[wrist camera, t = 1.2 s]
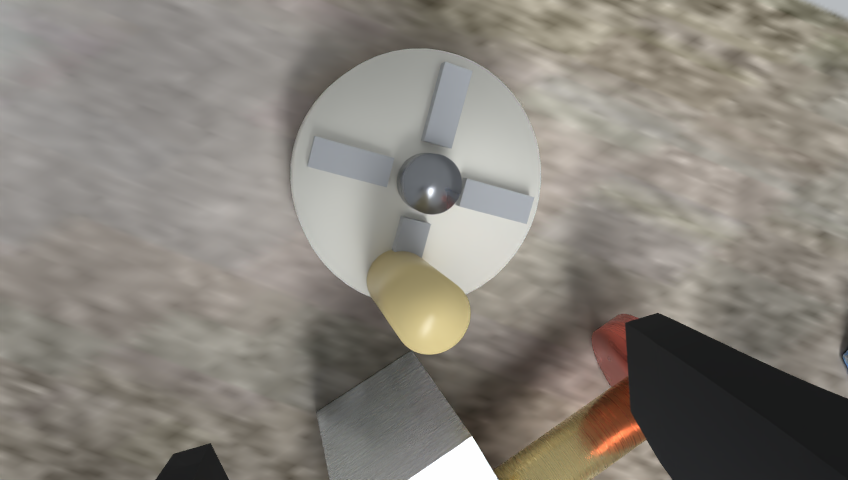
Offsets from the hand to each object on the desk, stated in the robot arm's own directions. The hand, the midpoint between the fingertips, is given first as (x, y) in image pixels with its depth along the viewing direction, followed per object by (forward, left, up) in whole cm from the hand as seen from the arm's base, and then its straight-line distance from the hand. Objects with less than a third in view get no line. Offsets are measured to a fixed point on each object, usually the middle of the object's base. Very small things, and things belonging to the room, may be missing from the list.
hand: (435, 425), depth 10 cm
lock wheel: (+4, +2, -11) cm, 12 cm away
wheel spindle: (+4, +2, -9) cm, 10 cm away
